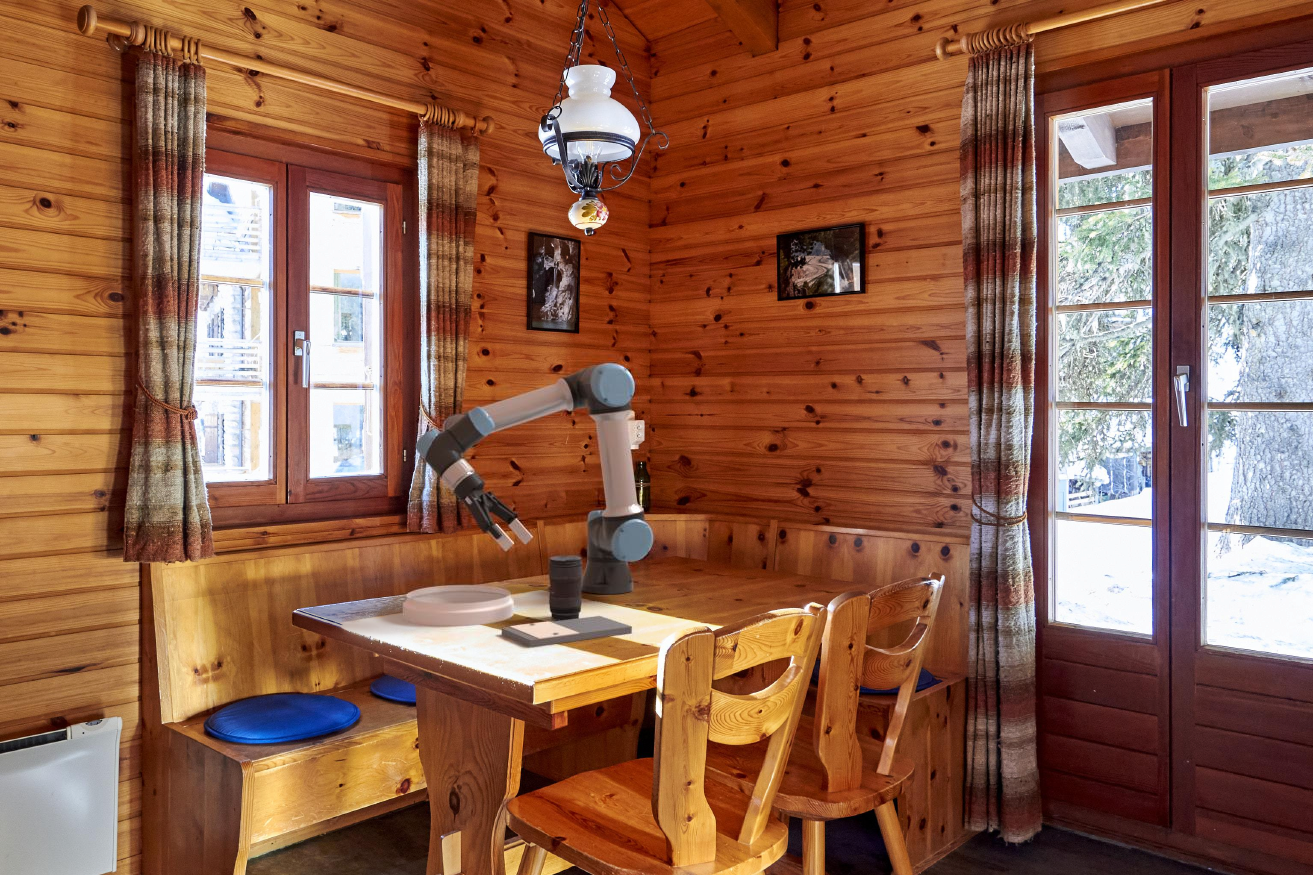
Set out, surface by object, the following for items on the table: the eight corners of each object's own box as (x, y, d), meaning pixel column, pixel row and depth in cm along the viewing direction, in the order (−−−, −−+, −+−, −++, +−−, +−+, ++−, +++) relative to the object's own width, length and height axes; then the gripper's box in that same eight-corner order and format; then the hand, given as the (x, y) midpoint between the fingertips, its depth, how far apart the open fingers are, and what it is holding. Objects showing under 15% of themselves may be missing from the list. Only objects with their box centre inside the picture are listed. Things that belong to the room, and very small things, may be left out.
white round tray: (479, 631, 215) (479, 607, 214) (380, 621, 223) (380, 598, 223) (532, 609, 240) (532, 588, 240) (441, 601, 249) (441, 581, 249)
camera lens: (542, 617, 229) (543, 556, 229) (570, 613, 234) (571, 554, 234) (559, 623, 223) (560, 560, 223) (587, 619, 228) (588, 558, 228)
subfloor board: (599, 621, 225) (599, 614, 225) (631, 632, 214) (631, 624, 214) (501, 634, 210) (501, 626, 210) (530, 647, 199) (530, 638, 199)
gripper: (473, 488, 246) (526, 547, 243) (432, 495, 222) (490, 561, 219) (493, 469, 245) (546, 528, 242) (453, 473, 221) (512, 539, 218)
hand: (519, 544), depth 231 cm, fingers open, 13 cm apart
